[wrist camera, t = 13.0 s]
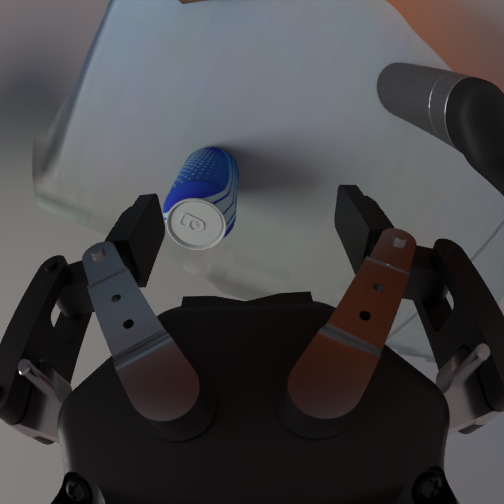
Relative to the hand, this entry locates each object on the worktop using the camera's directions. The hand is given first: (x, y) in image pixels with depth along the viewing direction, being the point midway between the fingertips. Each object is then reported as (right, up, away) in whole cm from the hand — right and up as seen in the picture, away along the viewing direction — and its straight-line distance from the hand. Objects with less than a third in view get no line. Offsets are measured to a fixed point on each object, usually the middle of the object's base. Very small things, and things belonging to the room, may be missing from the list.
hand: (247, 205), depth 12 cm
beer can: (-6, +11, +30) cm, 32 cm away
